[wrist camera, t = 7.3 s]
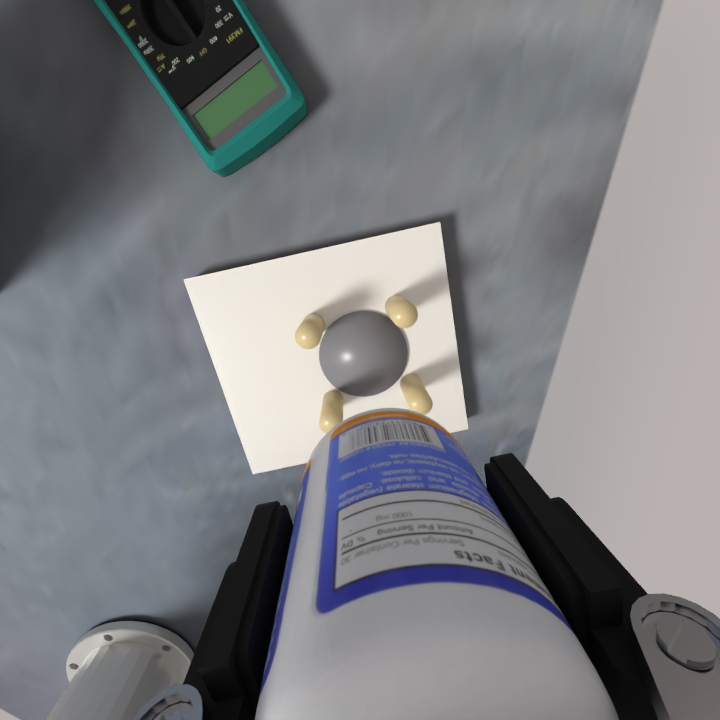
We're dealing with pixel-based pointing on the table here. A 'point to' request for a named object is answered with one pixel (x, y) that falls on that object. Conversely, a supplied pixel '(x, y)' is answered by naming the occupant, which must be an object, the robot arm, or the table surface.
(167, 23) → the digital multimeter
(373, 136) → the table surface
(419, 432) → the pill bottle
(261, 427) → the plate
